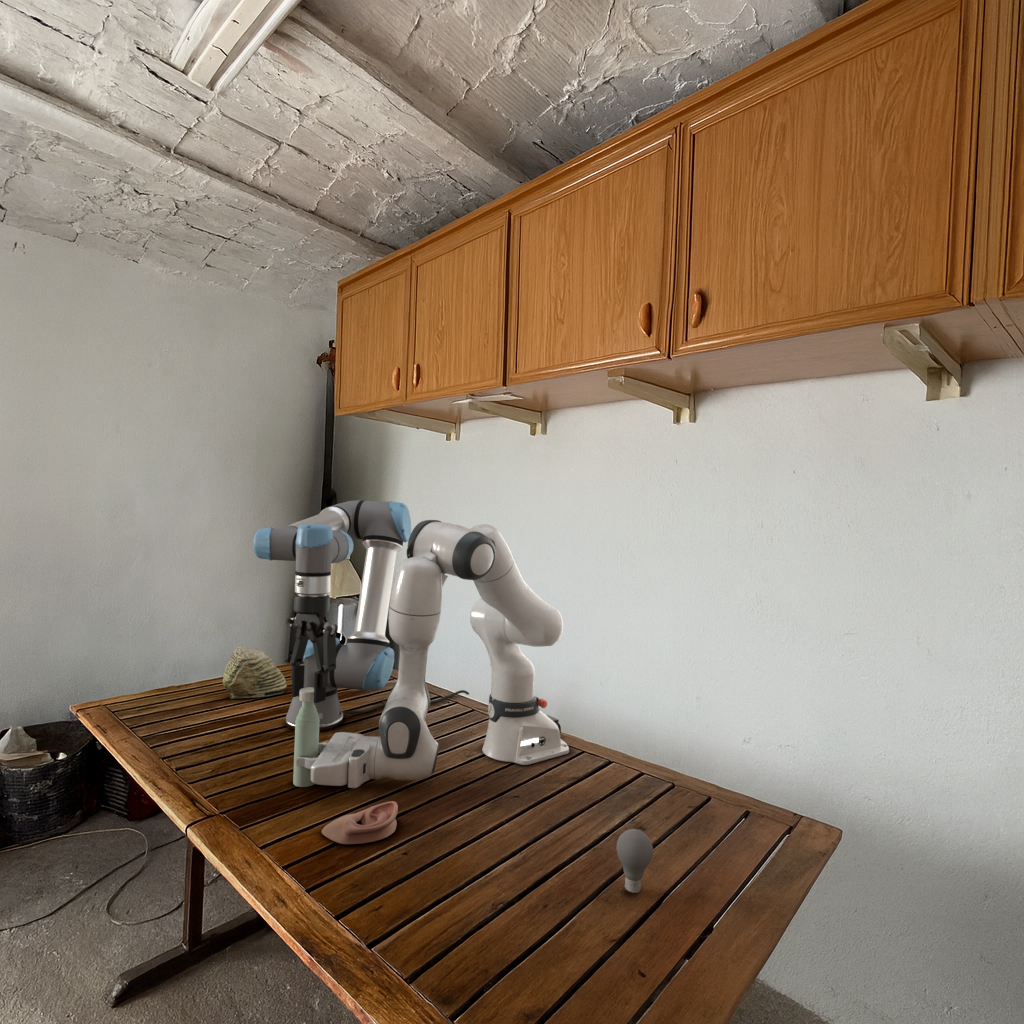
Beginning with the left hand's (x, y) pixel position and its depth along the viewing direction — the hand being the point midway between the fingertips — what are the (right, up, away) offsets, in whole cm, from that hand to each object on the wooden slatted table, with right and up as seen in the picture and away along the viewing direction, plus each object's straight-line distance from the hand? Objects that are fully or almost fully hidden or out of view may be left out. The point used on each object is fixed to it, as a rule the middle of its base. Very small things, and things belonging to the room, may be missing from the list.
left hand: (308, 698), depth 140 cm
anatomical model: (+16, -20, -19) cm, 32 cm away
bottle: (-1, -19, 0) cm, 19 cm away
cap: (0, +2, 0) cm, 2 cm away
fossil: (-36, -16, +58) cm, 70 cm away
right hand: (-1, -13, 0) cm, 13 cm away
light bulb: (+65, -22, -34) cm, 77 cm away
